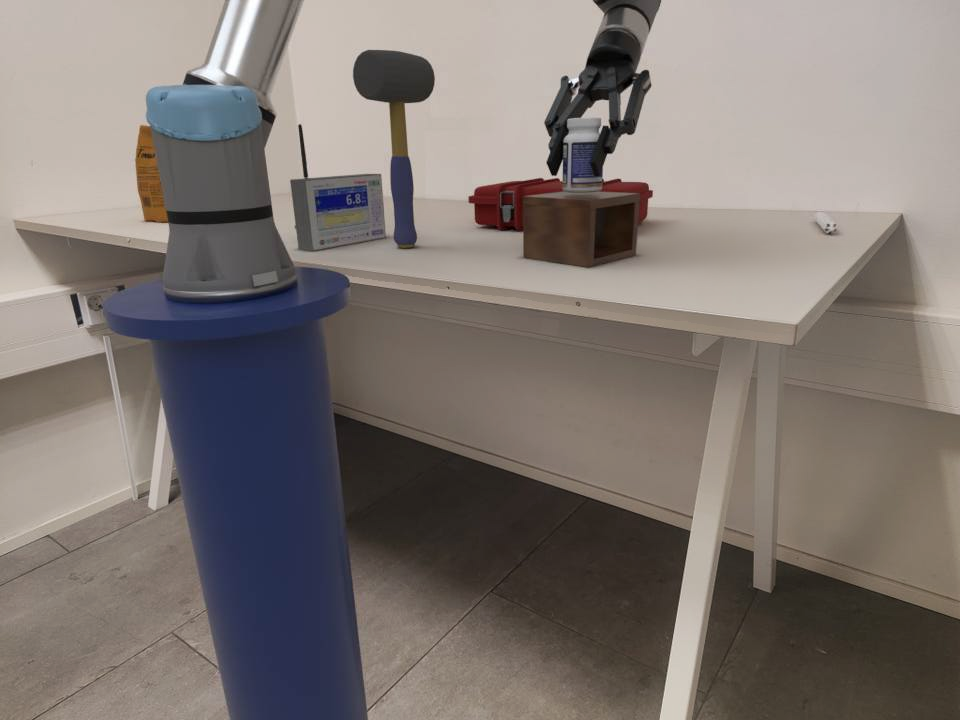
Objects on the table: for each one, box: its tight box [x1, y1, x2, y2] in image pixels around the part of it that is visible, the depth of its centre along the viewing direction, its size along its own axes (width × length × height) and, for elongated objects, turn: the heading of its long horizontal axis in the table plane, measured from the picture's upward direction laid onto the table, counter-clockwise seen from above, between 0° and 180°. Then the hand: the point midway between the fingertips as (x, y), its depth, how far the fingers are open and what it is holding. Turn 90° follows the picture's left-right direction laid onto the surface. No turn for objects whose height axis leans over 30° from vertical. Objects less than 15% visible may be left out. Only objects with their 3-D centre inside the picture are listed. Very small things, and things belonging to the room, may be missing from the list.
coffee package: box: [134, 124, 168, 223], centre depth 148 cm, size 10×12×22 cm
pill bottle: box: [561, 116, 604, 193], centre depth 88 cm, size 6×6×10 cm
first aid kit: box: [467, 177, 654, 232], centre depth 125 cm, size 32×23×9 cm
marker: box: [814, 211, 838, 235], centre depth 113 cm, size 18×2×2 cm, turn 158°
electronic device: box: [289, 123, 387, 252], centre depth 108 cm, size 17×7×20 cm, turn 143°
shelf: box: [522, 192, 640, 268], centre depth 91 cm, size 12×12×9 cm
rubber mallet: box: [352, 49, 436, 249], centre depth 100 cm, size 12×8×30 cm, turn 145°
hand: (572, 168), depth 86 cm, fingers closed on pill bottle, 6 cm apart
